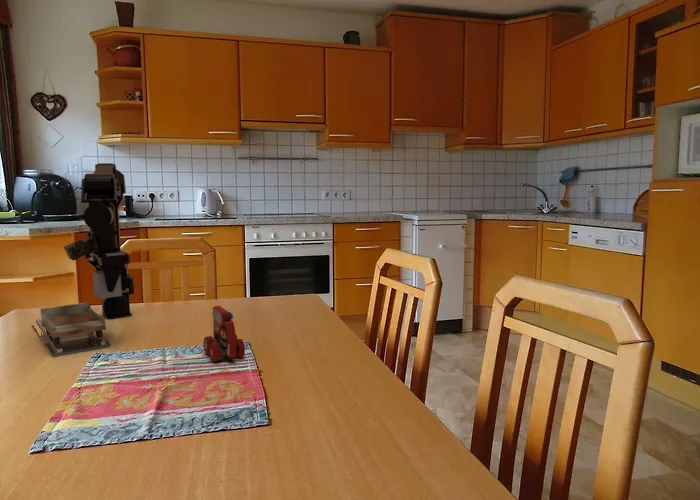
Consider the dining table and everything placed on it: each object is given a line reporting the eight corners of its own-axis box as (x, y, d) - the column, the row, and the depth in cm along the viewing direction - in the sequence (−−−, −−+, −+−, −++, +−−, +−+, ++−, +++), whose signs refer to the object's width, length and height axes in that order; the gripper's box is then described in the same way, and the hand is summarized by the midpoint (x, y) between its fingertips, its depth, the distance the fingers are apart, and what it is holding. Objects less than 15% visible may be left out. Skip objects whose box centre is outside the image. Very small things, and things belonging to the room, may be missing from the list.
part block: (115, 292, 133) (114, 269, 132) (121, 295, 129) (120, 271, 128) (94, 295, 130) (92, 271, 129) (99, 298, 126) (98, 274, 125)
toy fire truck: (216, 367, 110) (214, 318, 108) (201, 350, 120) (199, 306, 119) (248, 361, 113) (247, 313, 112) (231, 346, 124) (230, 302, 122)
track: (80, 318, 150) (80, 313, 150) (110, 346, 124) (110, 340, 124) (31, 325, 143) (31, 320, 143) (52, 357, 117) (52, 351, 116)
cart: (91, 325, 137) (89, 302, 136) (106, 339, 125) (104, 313, 124) (42, 332, 130) (40, 308, 130) (53, 348, 118) (51, 321, 117)
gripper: (57, 226, 129) (62, 289, 131) (75, 231, 115) (80, 301, 117) (105, 223, 136) (109, 283, 138) (128, 228, 122) (132, 294, 124)
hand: (107, 290), depth 129 cm, fingers closed on part block, 5 cm apart
